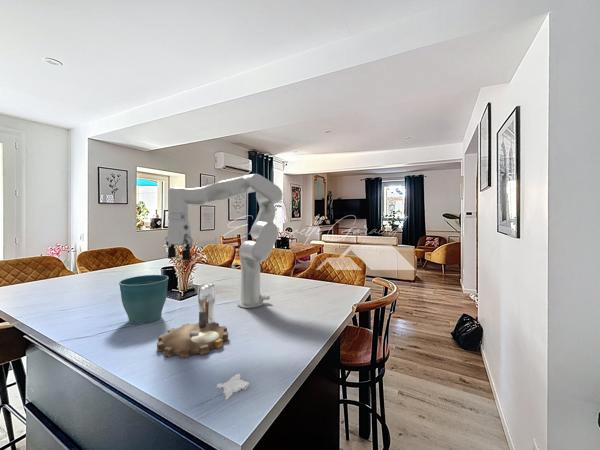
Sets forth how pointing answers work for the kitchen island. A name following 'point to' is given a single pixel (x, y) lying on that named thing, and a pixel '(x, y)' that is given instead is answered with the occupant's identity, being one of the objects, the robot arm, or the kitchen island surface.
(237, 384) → the acanthus leaf ornament
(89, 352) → the kitchen island surface
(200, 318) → the sprocket wheel
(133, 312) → the flower pot
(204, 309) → the beer glass
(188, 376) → the kitchen island surface
